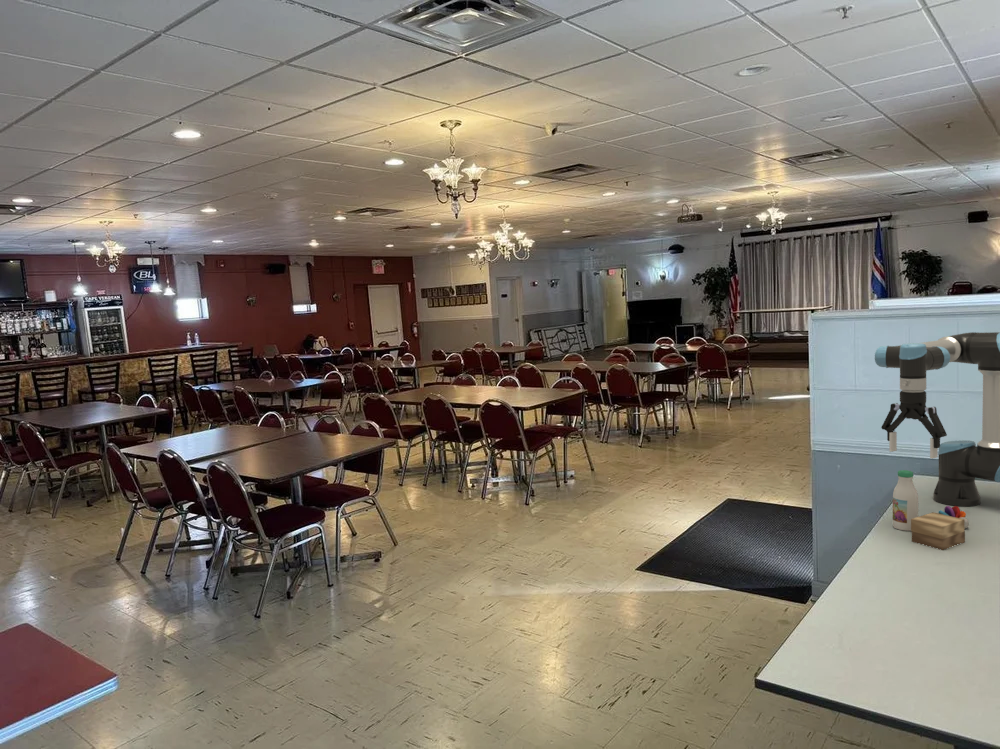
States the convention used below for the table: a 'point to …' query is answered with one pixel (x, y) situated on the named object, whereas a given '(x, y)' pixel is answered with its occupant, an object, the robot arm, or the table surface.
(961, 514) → the multicoloured petal toy
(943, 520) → the tower top
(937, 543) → the tower base
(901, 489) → the milk bottle
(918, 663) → the table surface
